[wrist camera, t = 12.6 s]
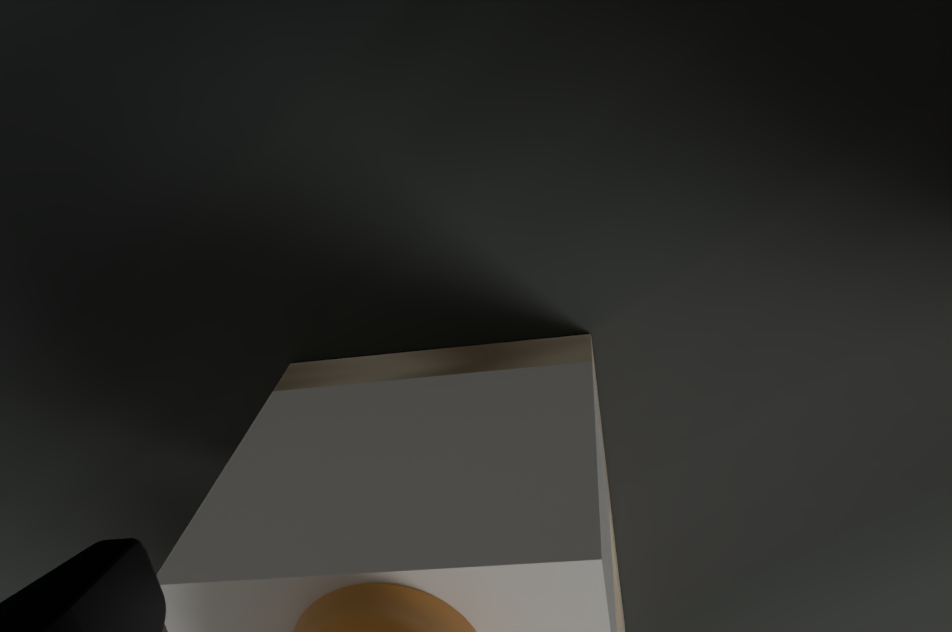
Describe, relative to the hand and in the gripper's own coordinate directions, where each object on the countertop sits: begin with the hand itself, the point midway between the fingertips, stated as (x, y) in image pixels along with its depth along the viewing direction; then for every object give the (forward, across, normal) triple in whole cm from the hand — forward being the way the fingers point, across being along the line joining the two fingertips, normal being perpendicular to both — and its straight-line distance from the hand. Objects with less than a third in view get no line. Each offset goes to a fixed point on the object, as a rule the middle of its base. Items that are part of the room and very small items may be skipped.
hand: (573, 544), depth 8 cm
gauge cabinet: (+12, +4, +6) cm, 14 cm away
